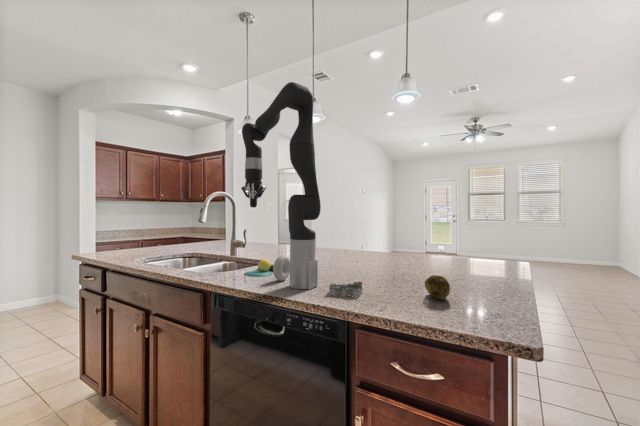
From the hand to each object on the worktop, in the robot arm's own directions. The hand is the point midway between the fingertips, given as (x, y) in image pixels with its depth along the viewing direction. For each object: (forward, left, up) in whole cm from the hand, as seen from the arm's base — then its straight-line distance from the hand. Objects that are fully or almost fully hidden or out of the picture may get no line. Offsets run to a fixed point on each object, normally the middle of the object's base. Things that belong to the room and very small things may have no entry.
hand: (253, 207), depth 138 cm
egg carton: (-52, +13, -30) cm, 61 cm away
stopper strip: (-5, -7, -29) cm, 30 cm away
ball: (-4, -3, -26) cm, 27 cm away
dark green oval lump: (-79, +4, -29) cm, 84 cm away
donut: (-22, +8, -29) cm, 37 cm away
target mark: (-5, +2, -29) cm, 29 cm away
